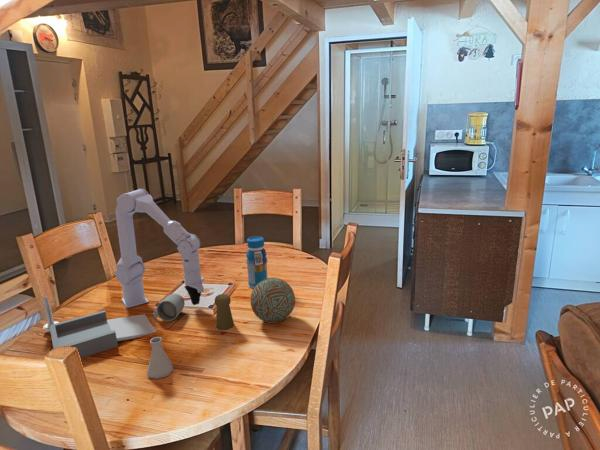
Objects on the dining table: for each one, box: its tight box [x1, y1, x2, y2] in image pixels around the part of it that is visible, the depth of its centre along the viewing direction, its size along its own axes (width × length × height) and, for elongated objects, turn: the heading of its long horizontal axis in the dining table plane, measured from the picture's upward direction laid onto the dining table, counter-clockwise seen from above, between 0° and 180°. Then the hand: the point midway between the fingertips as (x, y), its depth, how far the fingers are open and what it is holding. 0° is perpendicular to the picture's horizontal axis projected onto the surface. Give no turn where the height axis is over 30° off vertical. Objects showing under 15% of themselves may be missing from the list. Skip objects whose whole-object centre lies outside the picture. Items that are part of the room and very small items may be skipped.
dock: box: [49, 310, 157, 359], centre depth 132 cm, size 18×29×6 cm, turn 125°
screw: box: [42, 295, 60, 334], centre depth 135 cm, size 13×5×5 cm
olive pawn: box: [214, 293, 235, 331], centre depth 135 cm, size 6×6×11 cm
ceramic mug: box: [152, 293, 185, 322], centre depth 144 cm, size 11×8×8 cm
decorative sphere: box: [250, 277, 296, 324], centre depth 137 cm, size 15×15×15 cm
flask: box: [146, 336, 174, 380], centre depth 112 cm, size 7×7×10 cm
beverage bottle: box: [245, 235, 269, 289], centre depth 165 cm, size 8×8×20 cm
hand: (195, 303), depth 149 cm, fingers closed
